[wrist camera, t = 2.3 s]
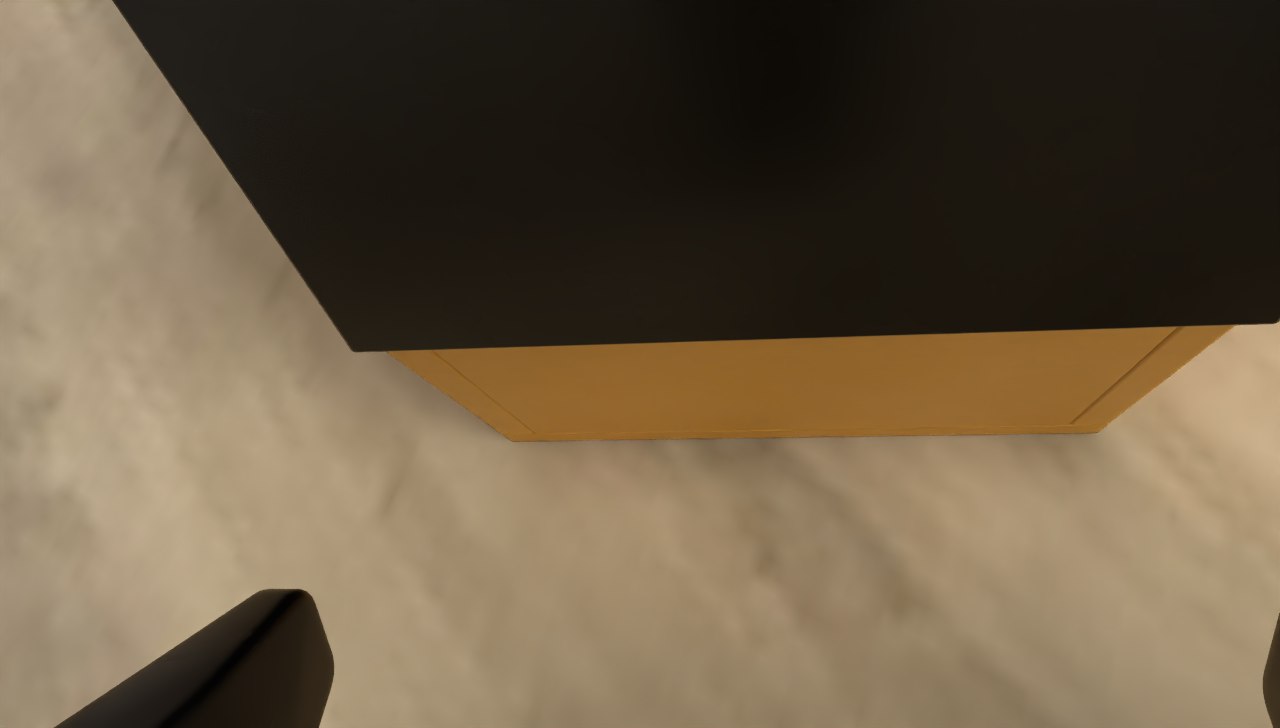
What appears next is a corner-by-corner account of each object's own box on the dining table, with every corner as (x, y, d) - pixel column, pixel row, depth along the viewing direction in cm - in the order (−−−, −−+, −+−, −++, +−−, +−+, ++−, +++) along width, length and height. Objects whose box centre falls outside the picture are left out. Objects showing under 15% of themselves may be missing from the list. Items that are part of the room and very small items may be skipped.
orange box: (540, -41, 27) (437, -304, 20) (1039, -91, 25) (1135, -407, 17) (511, 441, 23) (369, 342, 16) (1098, 433, 21) (1255, 312, 14)
